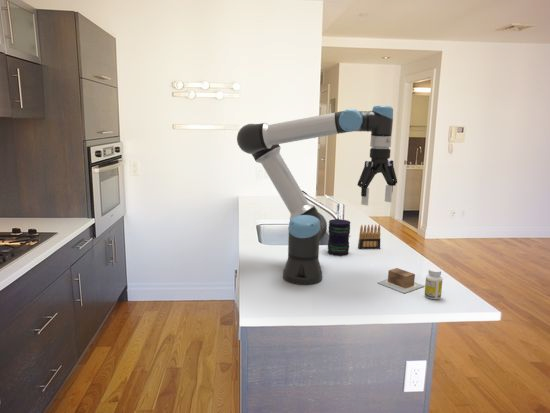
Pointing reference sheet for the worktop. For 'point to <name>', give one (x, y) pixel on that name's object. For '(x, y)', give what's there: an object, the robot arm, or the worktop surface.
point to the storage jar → (338, 237)
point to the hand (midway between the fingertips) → (376, 203)
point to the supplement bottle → (433, 284)
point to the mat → (401, 289)
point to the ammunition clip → (369, 238)
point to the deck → (401, 277)
